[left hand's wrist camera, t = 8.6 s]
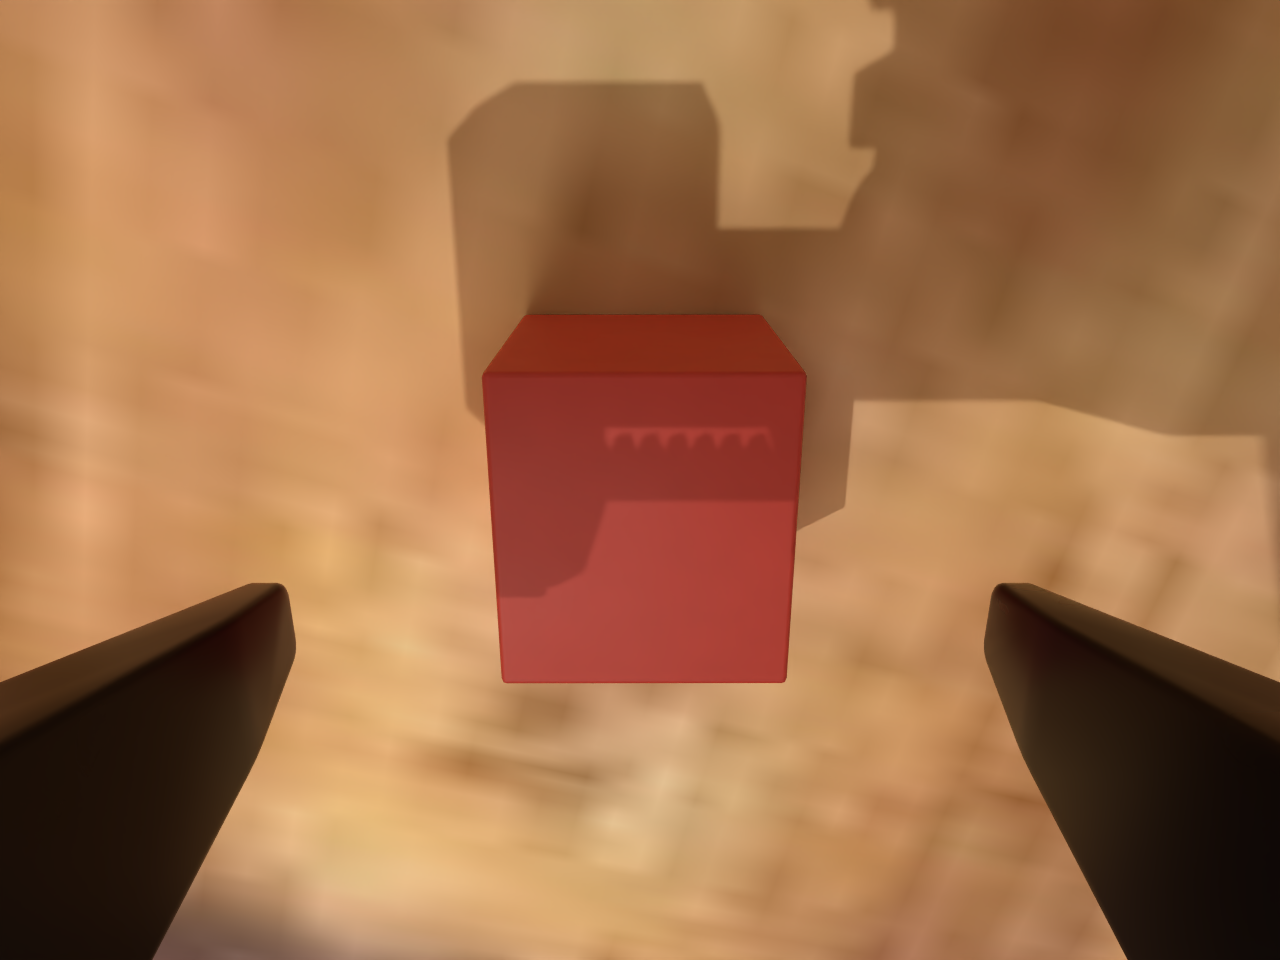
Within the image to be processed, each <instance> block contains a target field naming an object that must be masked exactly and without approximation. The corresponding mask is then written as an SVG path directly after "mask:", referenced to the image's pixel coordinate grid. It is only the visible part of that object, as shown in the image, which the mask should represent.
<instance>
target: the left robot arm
mask: <svg viewBox="0 0 1280 960" xmlns="http://www.w3.org/2000/svg"><path fill="white" fill-rule="evenodd" d="M295 653H296V639H295V632H294V626H293V620H292V613H291V607H290V601H289V595H288V592H287V590H286V588H285V587H284V586H283V585H282V584H279V583H251V584H247V585H245V586H242V587H240V588H237V589H235V590H232V591H229V592H227V593H224V594H222V595H219V596H217V597H214V598H212V599H209V600H207V601H204V602H202V603H199V604H197V605H194V606H192V607H189V608H187V609H184V610H182V611H179V612H177V613H174V614H172V615H169V616H166V617H164V618H161V619H159V620H156V621H154V622H151V623H149V624H146V625H144V626H141V627H139V628H136V629H134V630H131V631H129V632H126V633H124V634H121V635H119V636H116V637H114V638H111V639H109V640H106V641H103V642H101V643H98V644H96V645H93V646H91V647H88V648H86V649H83V650H81V651H78V652H76V653H73V654H71V655H68V656H66V657H63V658H61V659H58V660H56V661H53V662H51V663H48V664H46V665H43V666H40V667H38V668H35V669H33V670H30V671H28V672H25V673H23V674H20V675H18V676H15V677H13V678H10V679H8V680H5V681H3V682H0V960H152V959H153V957H154V956H155V954H156V952H157V950H158V948H159V946H160V944H161V942H162V940H163V938H164V936H165V934H166V932H167V930H168V929H169V927H170V925H171V923H172V921H173V919H174V917H175V915H176V913H177V911H178V909H179V907H180V905H181V904H182V902H183V900H184V898H185V896H186V894H187V892H188V890H189V888H190V886H191V884H192V882H193V880H194V878H195V877H196V875H197V873H198V871H199V869H200V867H201V865H202V863H203V861H204V859H205V857H206V855H207V853H208V852H209V850H210V848H211V846H212V844H213V842H214V840H215V838H216V836H217V834H218V832H219V830H220V828H221V826H222V825H223V823H224V821H225V819H226V817H227V815H228V813H229V811H230V809H231V807H232V805H233V803H234V801H235V800H236V798H237V796H238V794H239V792H240V790H241V788H242V786H243V784H244V782H245V780H246V778H247V776H248V774H249V772H250V770H251V768H252V766H253V764H254V762H255V760H256V758H257V756H258V753H259V751H260V749H261V746H262V744H263V741H264V739H265V736H266V733H267V731H268V728H269V725H270V723H271V720H272V717H273V715H274V712H275V709H276V707H277V704H278V701H279V699H280V696H281V693H282V691H283V688H284V685H285V683H286V680H287V677H288V675H289V672H290V669H291V667H292V664H293V661H294V658H295ZM984 653H985V658H986V661H987V664H988V667H989V669H990V672H991V675H992V677H993V680H994V683H995V685H996V688H997V691H998V693H999V696H1000V699H1001V701H1002V704H1003V707H1004V709H1005V712H1006V715H1007V717H1008V720H1009V723H1010V725H1011V728H1012V731H1013V733H1014V736H1015V739H1016V741H1017V744H1018V746H1019V749H1020V751H1021V753H1022V756H1023V758H1024V760H1025V762H1026V764H1027V766H1028V768H1029V770H1030V772H1031V774H1032V776H1033V778H1034V780H1035V782H1036V784H1037V786H1038V788H1039V790H1040V792H1041V794H1042V796H1043V798H1044V800H1045V801H1046V803H1047V805H1048V807H1049V809H1050V811H1051V813H1052V815H1053V817H1054V819H1055V821H1056V823H1057V825H1058V826H1059V828H1060V830H1061V832H1062V834H1063V836H1064V838H1065V840H1066V842H1067V844H1068V846H1069V848H1070V850H1071V852H1072V853H1073V855H1074V857H1075V859H1076V861H1077V863H1078V865H1079V867H1080V869H1081V871H1082V873H1083V875H1084V877H1085V878H1086V880H1087V882H1088V884H1089V886H1090V888H1091V890H1092V892H1093V894H1094V896H1095V898H1096V900H1097V902H1098V904H1099V905H1100V907H1101V909H1102V911H1103V913H1104V915H1105V917H1106V919H1107V921H1108V923H1109V925H1110V927H1111V929H1112V930H1113V932H1114V934H1115V936H1116V938H1117V940H1118V942H1119V944H1120V946H1121V948H1122V950H1123V952H1124V954H1125V956H1126V957H1127V959H1128V960H1280V682H1277V681H1275V680H1272V679H1270V678H1267V677H1265V676H1262V675H1260V674H1257V673H1255V672H1252V671H1250V670H1247V669H1245V668H1242V667H1240V666H1237V665H1234V664H1232V663H1229V662H1227V661H1224V660H1222V659H1219V658H1217V657H1214V656H1212V655H1209V654H1207V653H1204V652H1202V651H1199V650H1197V649H1194V648H1192V647H1189V646H1187V645H1184V644H1182V643H1179V642H1177V641H1174V640H1171V639H1169V638H1166V637H1164V636H1161V635H1159V634H1156V633H1154V632H1151V631H1149V630H1146V629H1144V628H1141V627H1139V626H1136V625H1134V624H1131V623H1129V622H1126V621H1124V620H1121V619H1119V618H1116V617H1114V616H1111V615H1108V614H1106V613H1103V612H1101V611H1098V610H1096V609H1093V608H1091V607H1088V606H1086V605H1083V604H1081V603H1078V602H1076V601H1073V600H1071V599H1068V598H1066V597H1063V596H1061V595H1058V594H1056V593H1053V592H1051V591H1048V590H1045V589H1043V588H1040V587H1038V586H1035V585H1033V584H1029V583H1001V584H998V585H997V586H996V587H995V588H994V590H993V592H992V595H991V601H990V607H989V613H988V620H987V626H986V632H985V639H984Z"/></svg>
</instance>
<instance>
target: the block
mask: <svg viewBox="0 0 1280 960" xmlns="http://www.w3.org/2000/svg"><path fill="white" fill-rule="evenodd" d="M806 380H807V376H806V373H805V372H804V370H803V369H802V368H801V366H800V365H799V364H798V362H797V361H796V360H795V358H794V357H793V356H792V354H791V353H790V352H789V351H788V349H787V348H786V347H785V345H784V344H783V343H782V341H781V340H780V339H779V337H778V336H777V335H776V333H775V332H774V331H773V330H772V328H771V327H770V326H769V324H768V323H767V322H766V320H765V319H764V318H763V316H761V315H526V316H524V317H523V319H522V320H521V321H520V323H519V324H518V326H517V327H516V328H515V330H514V331H513V333H512V334H511V335H510V337H509V338H508V340H507V341H506V342H505V344H504V345H503V346H502V348H501V349H500V351H499V352H498V353H497V355H496V356H495V358H494V359H493V360H492V362H491V363H490V365H489V366H488V367H487V369H486V370H485V371H484V373H483V376H482V385H483V400H484V416H485V431H486V446H487V461H488V476H489V491H490V507H491V522H492V537H493V552H494V567H495V582H496V598H497V613H498V628H499V643H500V658H501V673H502V679H503V682H505V683H783V682H785V680H786V678H787V664H788V649H789V634H790V619H791V604H792V589H793V574H794V559H795V544H796V529H797V514H798V500H799V485H800V470H801V455H802V440H803V425H804V410H805V395H806Z"/></svg>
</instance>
